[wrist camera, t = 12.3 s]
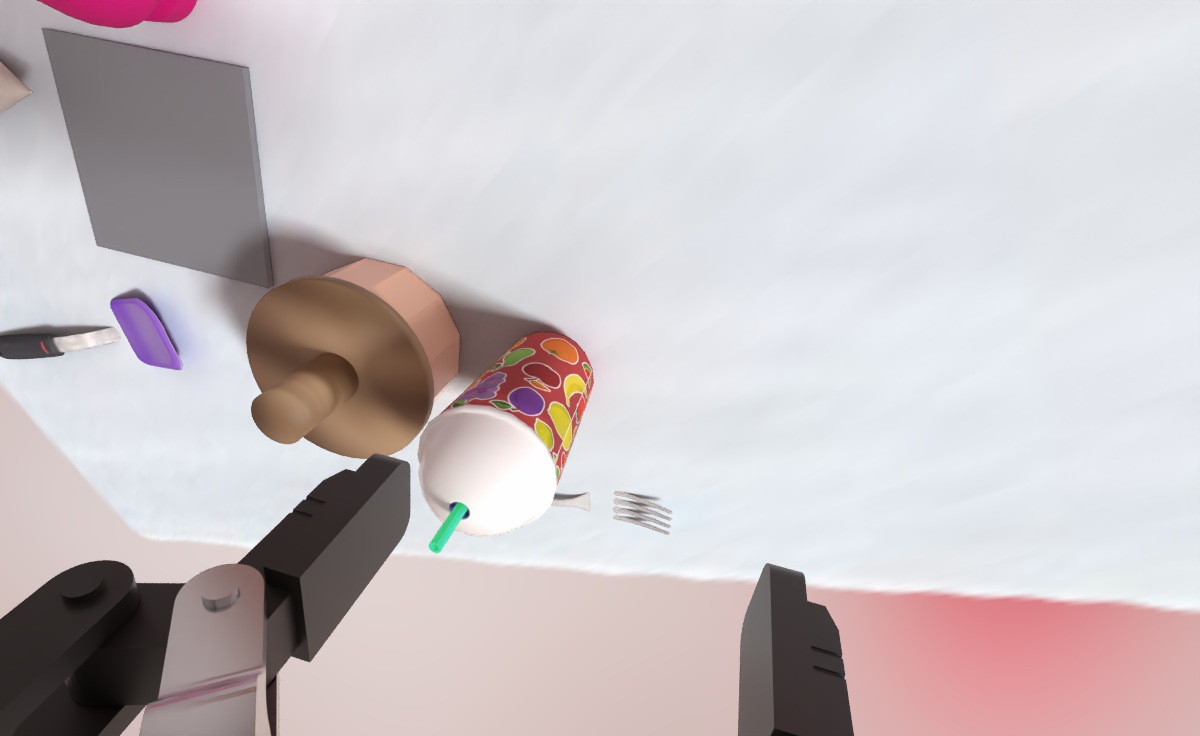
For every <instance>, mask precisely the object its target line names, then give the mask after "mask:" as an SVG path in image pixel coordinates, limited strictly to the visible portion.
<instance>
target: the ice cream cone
mask: <svg viewBox="0 0 1200 736" xmlns="http://www.w3.org/2000/svg"><path fill="white" fill-rule="evenodd" d="M31 93H33V92H32V91H31V90H30V89H29V88H28V87H27V86H25V85H24V84H23V83H22V82H21V81H20V80H19V79H18V78H17V77H16V76H15V75H14V74H13V73H12V72H11V71H10V70H9V69H8V68H7V67H6V66H4V65H3V64H2V63H1V62H0V114H1V113H2V112H4V111H5V110H7V109H8V108H10V107H11V106H13V105H14V104H16V103H17V102H19V101H21V100H22V99H24V98H25V97H27V96H28V95H30V94H31Z"/></svg>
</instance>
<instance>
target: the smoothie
mask: <svg viewBox="0 0 1200 736" xmlns="http://www.w3.org/2000/svg"><path fill="white" fill-rule="evenodd" d="M593 383H594V381H593V370H592V367H591V365H590V363H589V360H588V358H587V356H586V354H585V352H584V351H583V350H582V349H581V348H580V346H579V345H578V344H577V343H576V342H574V341H573V340H571V339H570V338H568V337H566V336H563V335H560V334H557V333H534V334H531V335H528V336H525V337H523V338H522V339H521V340H519V341H518V342H517V343H515V344H514V345H513V346H512V347H511V348H510V349H509V350H508V351H507V352H506V353H505V354H504V355H503V356H502V357H501V358H499V359H498V360H497V361H496V362H495V363H494V364H493V365H492V366H491V367H490V368H489V369H488V370H487V371H486V372H484V373H483V374H482V375H481V376H480V377H479V378H478V379H477V380H476V381H475V382H474V383H473V384H472V385H471V386H470V387H468V388H467V389H466V390H465V391H464V392H463V393H462V394H461V395H460V396H459V397H458V398H457V399H456V400H455V401H453V402H452V403H451V404H450V405H449V406H448V407H447V408H446V409H445V410H444V411H443V412H442V413H441V414H440V415H439V416H437V417H436V418H434V419H433V420H431V421H430V422H429V423H428V425H427V427H426V428H425V430H424V432H423V433H422V435H421V437H420V442H419V449H418V459H419V472H418V474H419V480H420V485H421V489H422V494H423V496H424V498H425V500H426V502H427V504H428V505H429V507H430V509H431V511H432V512H433V513H434V514H435V515H436V516H437V517H438V518H439V519H440V521H441V522H443V525H442V526H441V528H440V529H439V531H438V532H437V534H436V535H435V537H434V538H433V540H432V541H431V543H430V544H429V548H430V550H431V551H433V552H435V553H439V552H440V551H441V550H442V548H443V547H444V545H445V544H446V542H447V541H448V539H449V538H450V536H451V534H452V533H453V531H454V530H456V531H458V532H461V533H464V534H466V535H473V536H481V537H488V536H494V535H500V534H504V533H508V532H510V531H512V530H514V529H516V528H517V527H521V526H525V525H527V524H529V523H531V522H533V521H535V520H536V519H538V518H540V517H541V516H542V515H543V514H544V512H545V511H546V510H547V509H548V508H549V507H550V505H551V504H552V501H553V497H554V494H555V491H556V488H557V485H558V482H559V479H560V477H561V474H562V471H563V468H564V465H565V463H566V460H567V457H568V454H569V452H570V449H571V446H572V443H573V441H574V438H575V435H576V432H577V430H578V427H579V424H580V421H581V419H582V416H583V413H584V410H585V408H586V405H587V402H588V399H589V397H590V394H591V390H592V387H593Z"/></svg>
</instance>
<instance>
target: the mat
mask: <svg viewBox="0 0 1200 736" xmlns="http://www.w3.org/2000/svg"><path fill="white" fill-rule="evenodd" d="M42 31H43V35H44V39H45V43H46V47H47V51H48V55H49V59H50V63H51V67H52V71H53V74H54V78H55V82H56V86H57V90H58V94H59V98H60V102H61V106H62V110H63V114H64V118H65V122H66V126H67V130H68V134H69V138H70V142H71V145H72V149H73V153H74V157H75V161H76V165H77V169H78V173H79V177H80V181H81V185H82V189H83V193H84V197H85V201H86V205H87V209H88V213H89V216H90V220H91V224H92V228H93V232H94V236H95V240H96V244H97V246H100V247H104V248H108V249H112V250H116V251H120V252H125V253H129V254H133V255H137V256H141V257H145V258H149V259H153V260H157V261H161V262H165V263H169V264H173V265H177V266H181V267H186V268H190V269H194V270H198V271H202V272H206V273H210V274H214V275H218V276H222V277H226V278H230V279H234V280H238V281H242V282H246V283H251V284H255V285H259V286H263V287H267V288H269V287H271V286H273V278H272V269H271V260H270V251H269V242H268V234H267V225H266V216H265V207H264V198H263V190H262V181H261V172H260V163H259V155H258V146H257V137H256V128H255V119H254V111H253V102H252V93H251V84H250V75H249V68H247V67H242V66H237V65H232V64H227V63H222V62H217V61H211V60H206V59H201V58H196V57H191V56H186V55H181V54H176V53H170V52H165V51H160V50H155V49H150V48H145V47H140V46H135V45H129V44H124V43H119V42H114V41H109V40H104V39H99V38H94V37H88V36H83V35H78V34H73V33H68V32H63V31H58V30H53V29H42Z"/></svg>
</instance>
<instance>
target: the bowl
mask: <svg viewBox="0 0 1200 736" xmlns="http://www.w3.org/2000/svg"><path fill="white" fill-rule="evenodd" d="M322 276H328V277H334V278H339V279H342V280H346V281H349V282H352V283H354V284H356V285H359V286H361V287H363V288H365V289H367V290H369V291H370V292H372V293H374V294H375V295H377V296H378V297H380V298H381V299H382V300H384V301H385V302H387V303H388V304H389V305H390V306H391V307H392V308H393V309H394V310H396V311H397V312H398V313H399V314H400V316H401V317H402V318H403V319H404V320H405V321H406V322H407V323H408V325H409V326H410V327H411V329H412V330H413V331H414V333H415V334H416V336H417V338H418V339H419V341H420V343H421V344H422V346H423V348H424V351H425V353H426V355H427V357H428V360H429V363H430V366H431V369H432V375H433V380H434V402H435V401H436V400H437V398H438V397H439V396H440V395H441V393H442V392H443V391H444V390H445V388H446V387H447V386H448V384H449V383H450V382H451V381H452V379H453V378H454V377H455V376H456V374H457V373H458V370H459V348H460V334H459V332H458V330H457V328H456V326H455V324H454V322H453V320H452V318H451V315H450V313H449V311H448V309H447V307H446V305H445V303H444V301H443V299H442V297H441V296H440V295H439V294H438V293H437V292H435V291H434V290H433V289H432V288H430V287H429V286H428V285H427V284H426V283H424V282H423V281H422V280H421V279H420V278H418V277H417V276H416V275H415V274H413V273H412V272H411V271H410V270H409V269H407V268H406V267H402V266H398V265H394V264H389V263H385V262H381V261H376V260H372V259H368V258H364V259H362V260H359V261H357V262H354V263H351V264H349V265H346V266H343V267H341V268H338V269H335V270H332V271H330V272H328V273H326V274H324V275H322ZM434 402H433V403H434Z"/></svg>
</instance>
